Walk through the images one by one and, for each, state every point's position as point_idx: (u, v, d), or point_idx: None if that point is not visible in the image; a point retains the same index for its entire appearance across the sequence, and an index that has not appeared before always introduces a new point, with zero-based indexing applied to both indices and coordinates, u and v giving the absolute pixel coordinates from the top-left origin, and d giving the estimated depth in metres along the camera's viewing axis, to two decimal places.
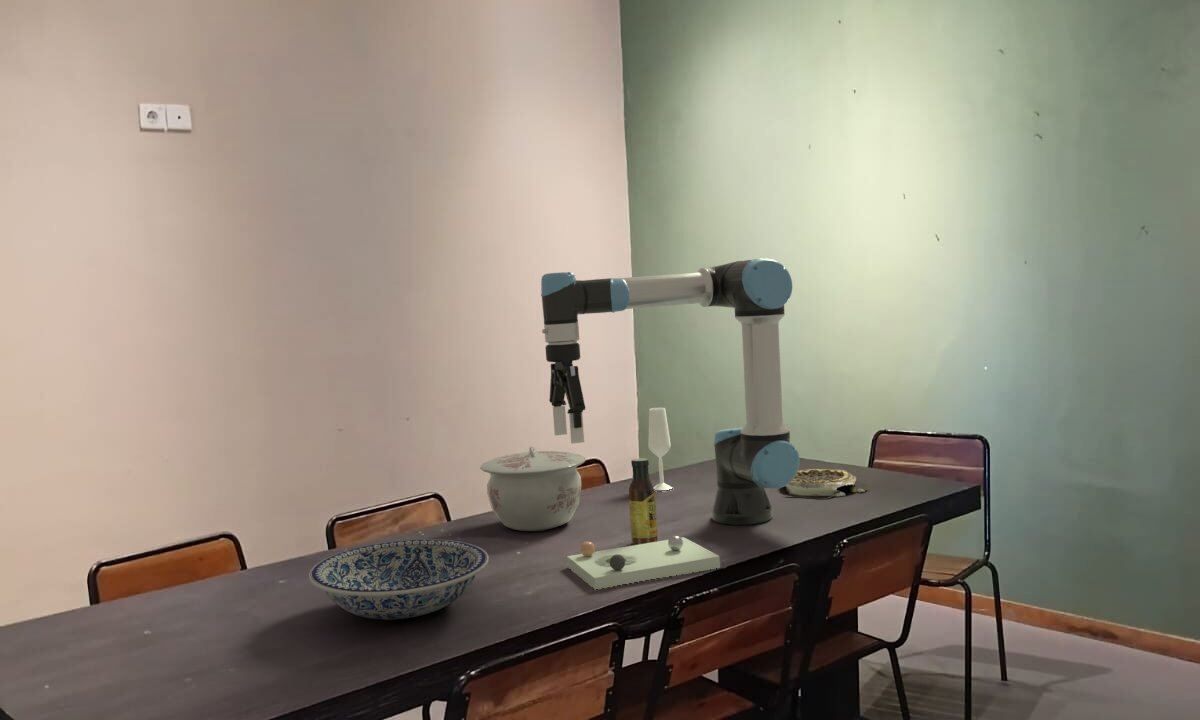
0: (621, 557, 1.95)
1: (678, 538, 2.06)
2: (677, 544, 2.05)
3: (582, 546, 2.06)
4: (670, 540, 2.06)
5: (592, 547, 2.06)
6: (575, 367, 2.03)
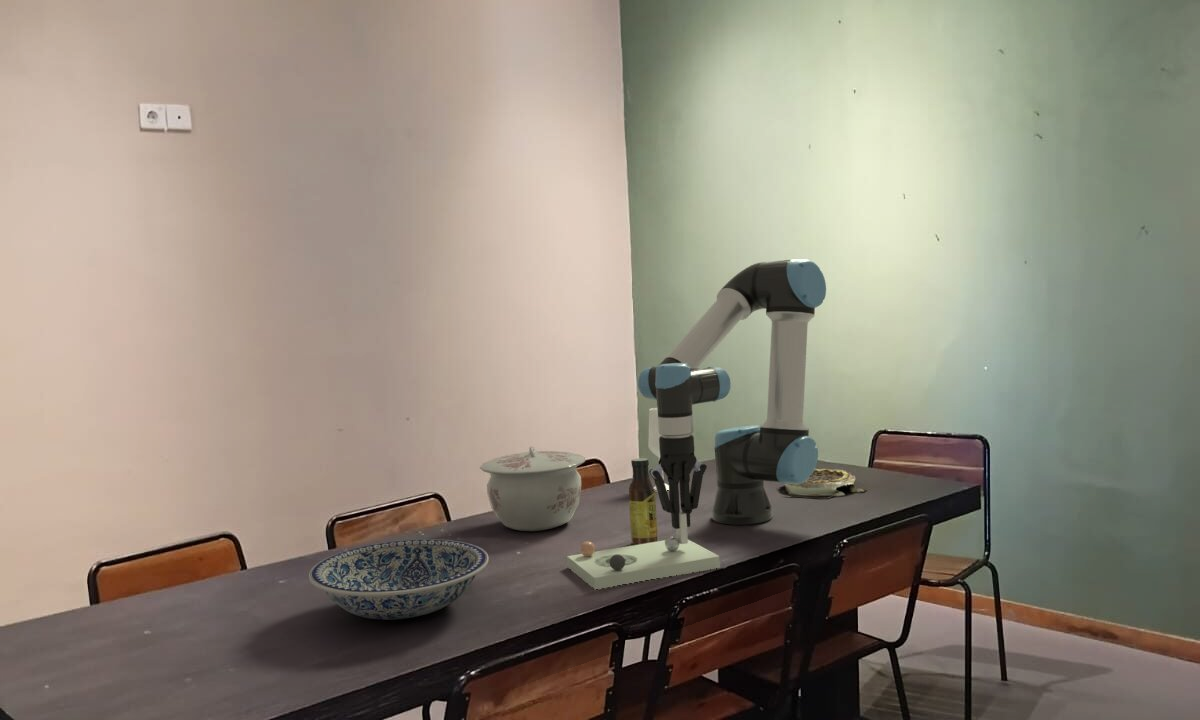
0: (621, 557, 1.95)
1: (672, 539, 2.06)
2: (674, 545, 2.05)
3: (582, 546, 2.06)
4: (666, 544, 2.06)
5: (592, 547, 2.06)
6: (652, 473, 2.03)
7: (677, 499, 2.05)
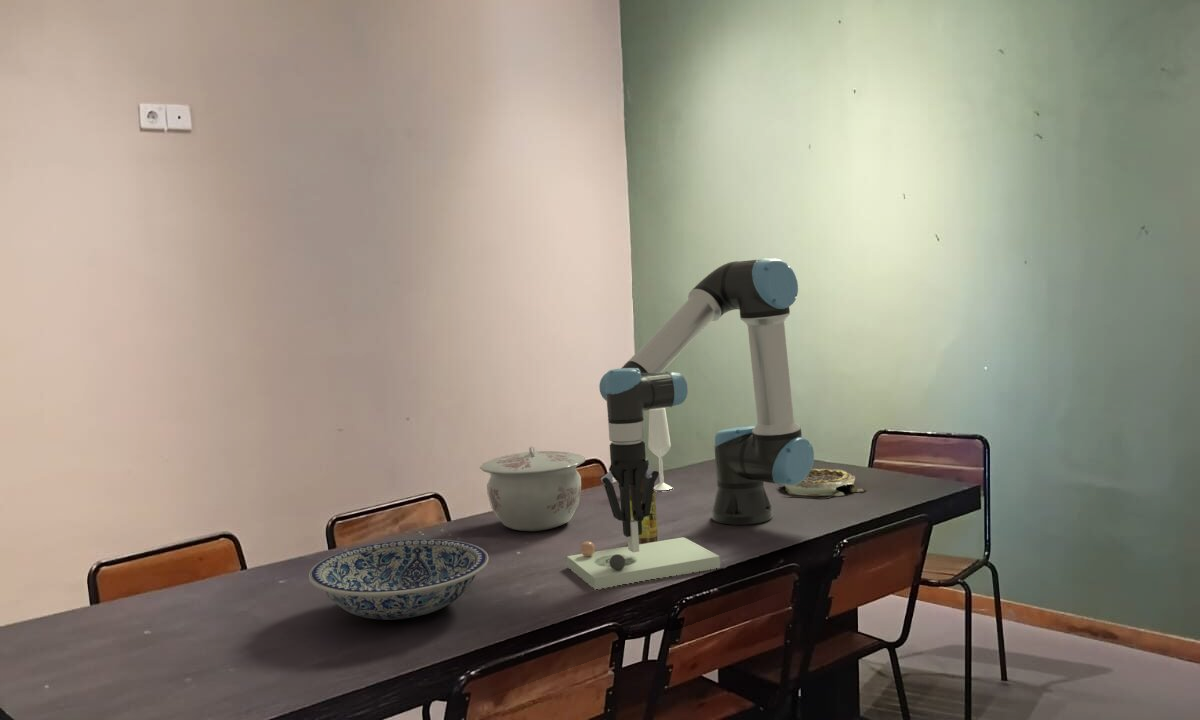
0: (621, 557, 1.95)
1: None
2: None
3: (582, 546, 2.06)
4: None
5: (592, 547, 2.06)
6: (602, 480, 2.00)
7: (627, 506, 2.01)
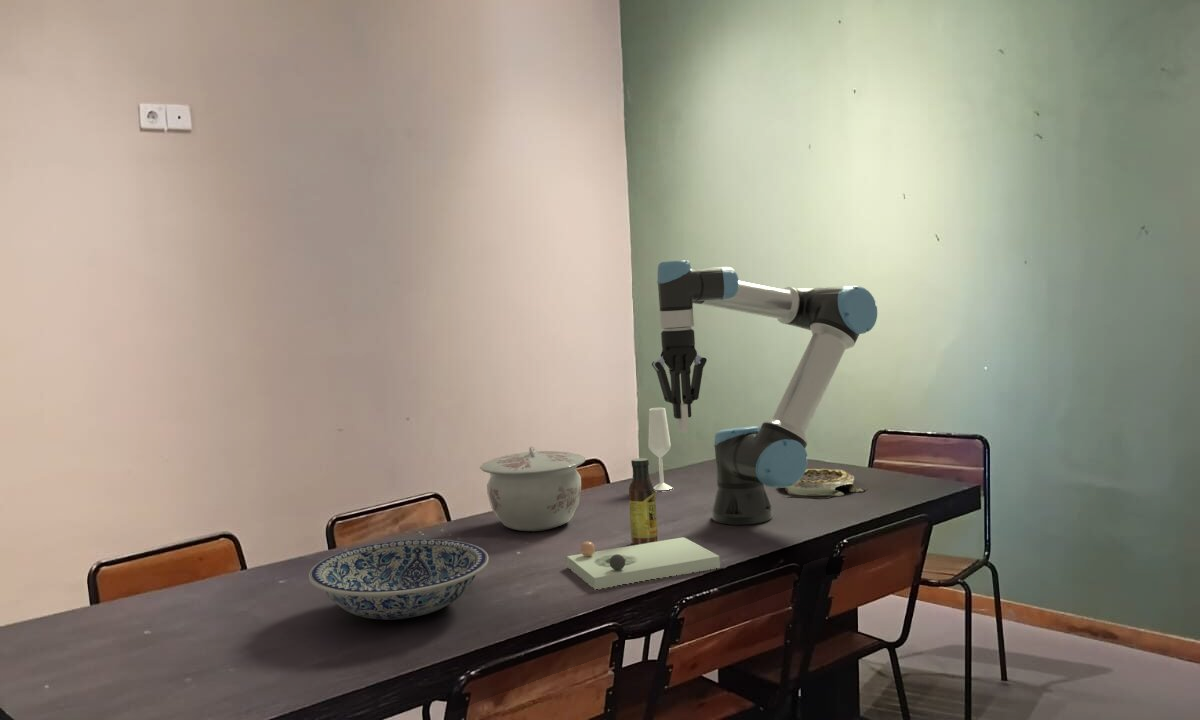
0: (621, 557, 1.95)
1: None
2: None
3: (582, 546, 2.06)
4: None
5: (592, 547, 2.06)
6: (655, 364, 2.13)
7: (678, 390, 2.15)
